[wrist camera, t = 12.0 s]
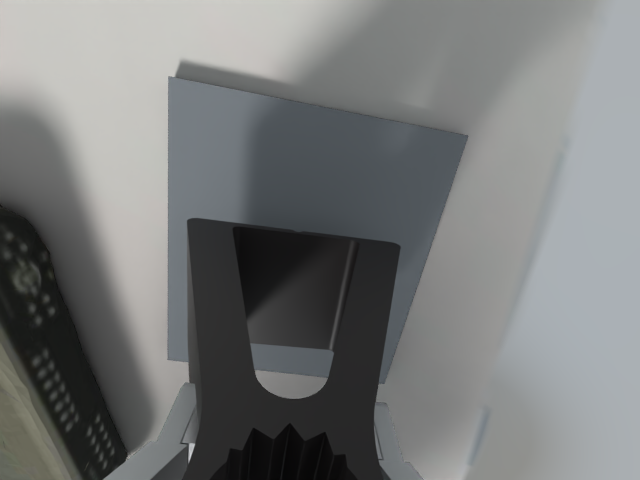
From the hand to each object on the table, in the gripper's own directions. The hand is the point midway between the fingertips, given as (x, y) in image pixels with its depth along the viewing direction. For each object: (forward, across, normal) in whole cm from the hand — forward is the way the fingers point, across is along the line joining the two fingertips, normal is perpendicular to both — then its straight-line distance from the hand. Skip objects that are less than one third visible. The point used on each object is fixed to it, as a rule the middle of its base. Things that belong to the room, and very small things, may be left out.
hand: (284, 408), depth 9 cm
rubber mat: (+10, 0, 0) cm, 10 cm away
